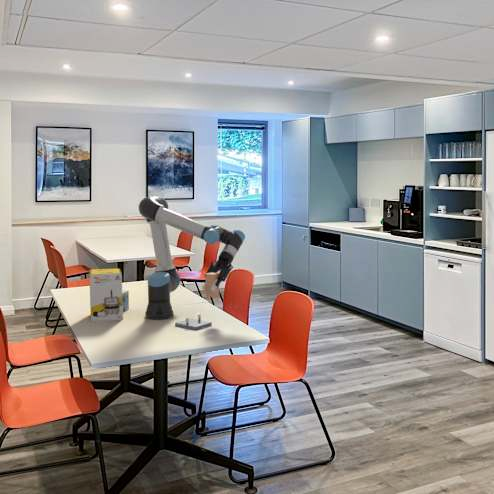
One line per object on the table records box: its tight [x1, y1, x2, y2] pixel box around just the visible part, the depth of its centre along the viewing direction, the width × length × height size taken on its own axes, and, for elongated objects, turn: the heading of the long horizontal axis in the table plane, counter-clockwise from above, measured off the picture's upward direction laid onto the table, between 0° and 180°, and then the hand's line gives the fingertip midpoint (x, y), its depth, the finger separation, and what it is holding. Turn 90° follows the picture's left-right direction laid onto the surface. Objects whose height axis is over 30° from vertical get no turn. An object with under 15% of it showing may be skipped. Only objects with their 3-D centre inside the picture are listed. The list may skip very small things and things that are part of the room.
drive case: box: [205, 272, 220, 298], centre depth 314 cm, size 5×5×12 cm
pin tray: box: [174, 313, 213, 331], centre depth 307 cm, size 14×12×5 cm
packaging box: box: [88, 268, 124, 322], centre depth 324 cm, size 16×16×25 cm
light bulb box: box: [122, 289, 130, 313], centre depth 341 cm, size 11×7×11 cm, turn 169°
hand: (208, 290), depth 312 cm, fingers closed on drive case, 5 cm apart
